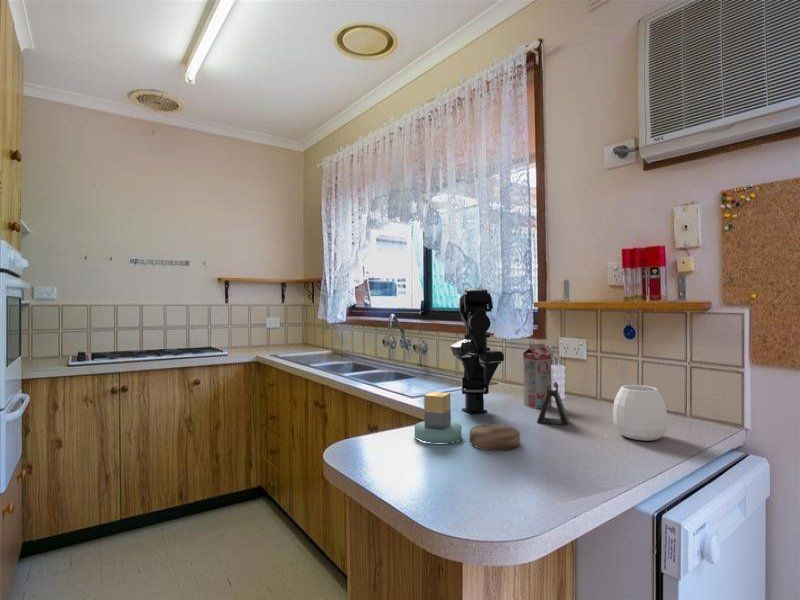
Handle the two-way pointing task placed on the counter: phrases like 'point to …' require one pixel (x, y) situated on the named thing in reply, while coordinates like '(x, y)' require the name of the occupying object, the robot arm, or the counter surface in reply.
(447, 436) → the stand
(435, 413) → the block
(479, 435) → the stand
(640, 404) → the white faceted vase
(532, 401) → the juice carton
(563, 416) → the phone stand
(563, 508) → the counter surface
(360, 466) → the counter surface
